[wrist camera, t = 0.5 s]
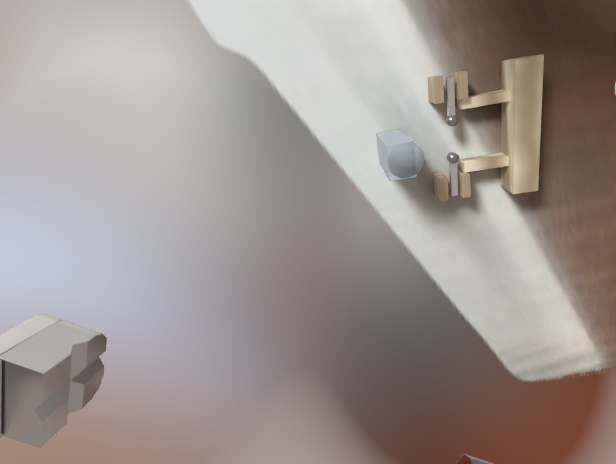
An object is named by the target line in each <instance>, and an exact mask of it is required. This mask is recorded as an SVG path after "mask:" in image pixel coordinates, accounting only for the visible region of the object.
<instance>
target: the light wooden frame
mask: <svg viewBox="0 0 616 464" xmlns="http://www.w3.org/2000/svg"><path fill="white" fill-rule="evenodd" d="M543 63H544V55H533V56H525V57H519V58H514V59H509V60H503V61H501V90H498V91H492V92H487V93H481V94H476V95H470V96H468V71H458V72H453V73H450V74H451V77H454V89H455V99H456V103H457V108H460V109H467V108H473V107H479V106H485V105H490V104H496V103H501V153H497V154H491V155H484V156H478V157H472V158H466V159H459V169H457V178H458V194H459V195H460V196H461V197H462V198H466V197H471V188H470V174H469V173H467V172H472V171H479V170H485V169H491V168H498V167H501V186H502V187H503V188H505V189H506V190H508V191H509V192H511V193H512V194H519V193H525V192H532V191H538V181H539V158H540V134H541V110H542V87H543ZM428 93H429V102H431V103H434V104H438V103H444V87H443V76H431V77H428ZM433 176H434V192H435V195H436V196H437V197H438V198H439V200H440V201H446V200H449V194H448V178H447V177H446V176H445V175H444V174H443V173H441V172H437V173H433Z"/></svg>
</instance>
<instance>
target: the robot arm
mask: <svg viewBox="0 0 616 464" xmlns="http://www.w3.org/2000/svg"><path fill="white" fill-rule="evenodd" d="M106 340H107V339H106V337H105V336H104V335H103V334H101V333H98V332H96V331H93V330H90V329H87V328H85V327H82V326H79V325H76V324H74V323H71V322H68V321H63V320H61V319H58V318H56V317H53V316H50V315H47V314H38V315H36V316H34V317H32V318H30V319H28V320H27V321H25V322H23V323H21V324H19V325H18V326H16V327H14V328H12V329H10V330H8V331H6V332H5V333H3V334H1V335H0V438H1V435H2V436H5V437H8V438H11V439H14V440H17V441H20V442H23V443H26V444H29V445H32V446H35V447H39V448H41V447H42V446H43V445H44V444H45V443H47V442H48V441H49V439H51V438H52V437H53V436H54V435H55V434H56V433H57V432H58V431H59V430H60V429H61V428H62V427H63V426H64V425H65V424H66V422H67V415H68V413H71V412H74V411H77V410H79V409H82V408H83V407H84V406H85V405H86V404H87V403H88V402H89V401H90V400H91V399H92V398H93V396H94V394H95V393H96V392H97V390H98V388H99V387H100V384H101V381H102V378H103V374H104V365H103V363H102V361H101V359H100V358H99V356H100V355H101V354H102V353H104V352H105V351H106ZM457 464H493V463H490V462H487V461H484V460H481V459H478V458H475V457H472V456H469V455H466V454H464V455H463V456H461V458H459V460H458V462H457Z"/></svg>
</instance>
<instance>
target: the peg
mask: <svg viewBox="0 0 616 464" xmlns="http://www.w3.org/2000/svg"><path fill="white" fill-rule="evenodd" d="M376 137H377V146H378V155H379V163H380V165H381V166H382V168H383V170H384V172H385V174H386V175H387V177H388V179H389V181H393V180H400V179H406V178H412V177H417V176H416V174H418V173H419V172H420V170H421V169H422V167H423V165H424V153H423V151H422V149H421V148H420V147H419V146H418V145H416V144H415V143H414V141H413V140H412V139H411V138H409V137H408V136H407V135H406V134H404V133H403V132H402V131H401V130H399V129H396V130H390V131H384V132H378V133H376Z"/></svg>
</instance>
